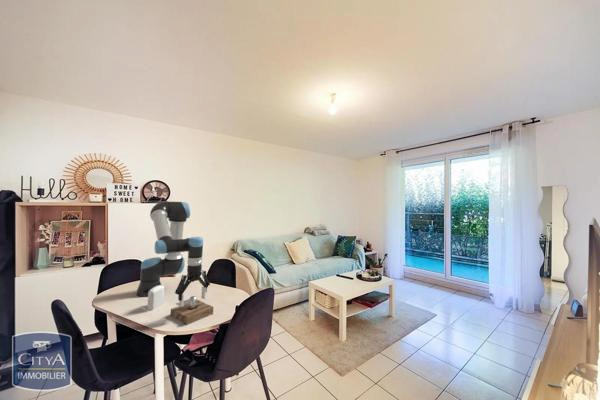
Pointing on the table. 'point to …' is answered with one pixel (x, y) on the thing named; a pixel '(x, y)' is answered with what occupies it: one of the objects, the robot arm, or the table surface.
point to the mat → (187, 301)
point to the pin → (192, 302)
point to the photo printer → (155, 297)
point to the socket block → (191, 312)
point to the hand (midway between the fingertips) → (192, 302)
